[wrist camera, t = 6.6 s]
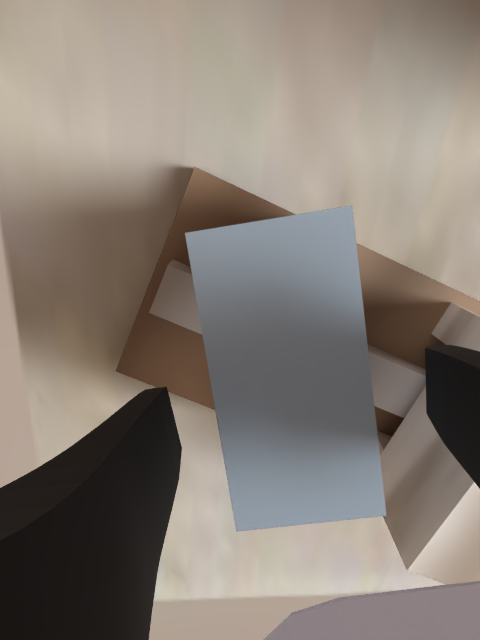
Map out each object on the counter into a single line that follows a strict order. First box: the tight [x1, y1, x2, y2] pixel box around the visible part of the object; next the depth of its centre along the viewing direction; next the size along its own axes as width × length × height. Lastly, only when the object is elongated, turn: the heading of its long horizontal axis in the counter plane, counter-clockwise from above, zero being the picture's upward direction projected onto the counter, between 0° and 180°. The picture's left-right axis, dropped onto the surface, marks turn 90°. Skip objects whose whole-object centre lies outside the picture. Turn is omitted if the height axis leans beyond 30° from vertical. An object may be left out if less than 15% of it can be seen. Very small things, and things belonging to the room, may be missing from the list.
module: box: [185, 206, 386, 532], centre depth 13 cm, size 4×9×6 cm, turn 9°
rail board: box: [116, 167, 480, 585], centre depth 15 cm, size 17×9×7 cm, turn 66°
